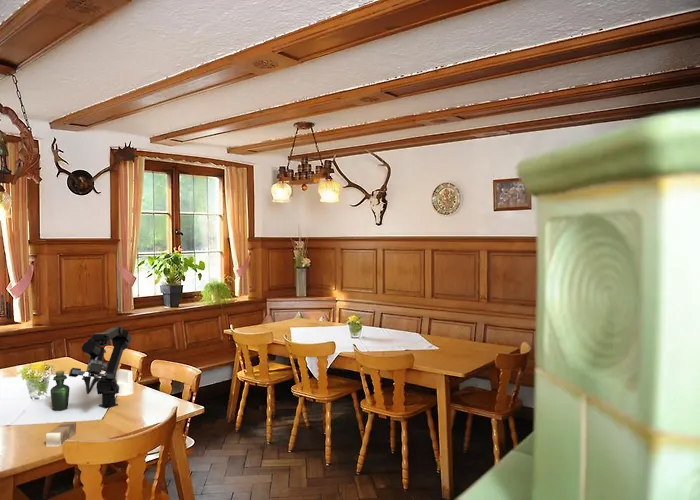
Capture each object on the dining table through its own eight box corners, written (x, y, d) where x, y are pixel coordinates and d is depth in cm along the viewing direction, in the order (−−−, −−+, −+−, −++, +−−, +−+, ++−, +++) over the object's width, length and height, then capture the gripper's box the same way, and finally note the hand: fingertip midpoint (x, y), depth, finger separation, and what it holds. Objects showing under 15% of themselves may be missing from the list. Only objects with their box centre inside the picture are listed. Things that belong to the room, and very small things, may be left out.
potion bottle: (53, 407, 248) (52, 370, 247) (71, 405, 250) (71, 369, 250) (48, 412, 240) (47, 374, 239) (67, 411, 242) (67, 373, 242)
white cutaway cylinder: (137, 392, 273) (137, 369, 272) (123, 396, 264) (123, 373, 264) (125, 389, 276) (125, 367, 276) (111, 394, 268) (111, 371, 268)
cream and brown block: (64, 422, 215) (46, 433, 202) (76, 422, 215) (58, 434, 202) (64, 433, 215) (46, 446, 202) (76, 433, 215) (58, 446, 202)
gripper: (76, 352, 226) (67, 387, 219) (121, 358, 235) (113, 392, 228) (72, 358, 234) (64, 392, 227) (115, 364, 243) (108, 397, 236)
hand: (88, 393), depth 229 cm, fingers closed
